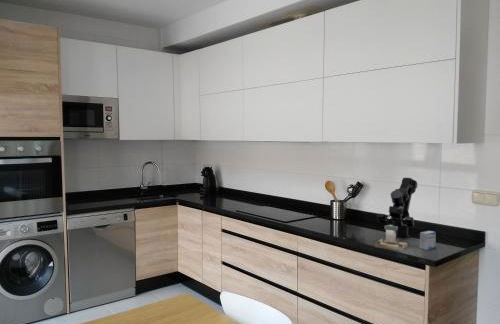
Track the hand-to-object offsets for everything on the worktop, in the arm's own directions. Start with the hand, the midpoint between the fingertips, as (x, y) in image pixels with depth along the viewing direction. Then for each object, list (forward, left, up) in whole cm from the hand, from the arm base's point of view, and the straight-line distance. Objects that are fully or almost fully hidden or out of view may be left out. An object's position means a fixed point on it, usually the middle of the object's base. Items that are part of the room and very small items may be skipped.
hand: (392, 232), depth 206 cm
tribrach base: (+1, 0, -7) cm, 7 cm away
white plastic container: (+3, +1, -4) cm, 5 cm away
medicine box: (-12, +13, -8) cm, 19 cm away
